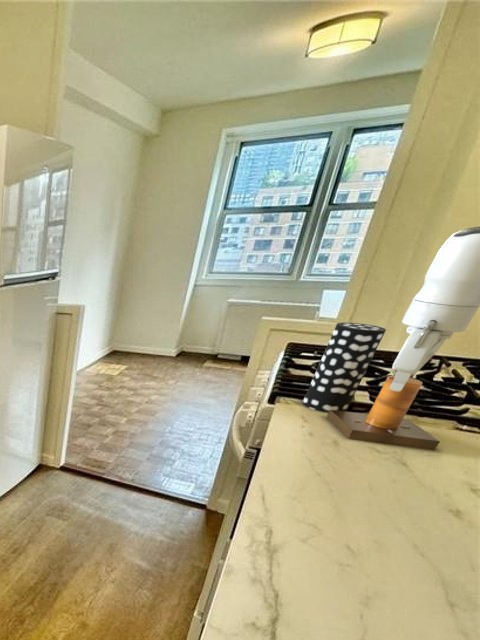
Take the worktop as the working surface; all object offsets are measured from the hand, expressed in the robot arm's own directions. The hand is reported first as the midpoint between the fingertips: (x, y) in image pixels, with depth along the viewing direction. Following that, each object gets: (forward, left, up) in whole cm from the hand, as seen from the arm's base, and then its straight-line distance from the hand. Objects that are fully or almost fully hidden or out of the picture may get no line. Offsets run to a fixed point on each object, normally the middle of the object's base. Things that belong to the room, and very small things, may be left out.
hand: (399, 385), depth 100 cm
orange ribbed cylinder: (0, 0, -9) cm, 9 cm away
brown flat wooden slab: (0, 0, -11) cm, 11 cm away
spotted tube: (+5, -14, -12) cm, 19 cm away
